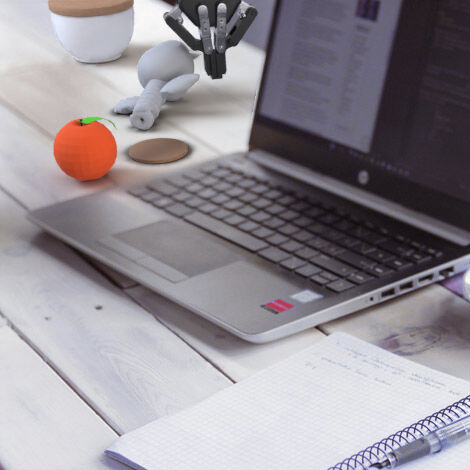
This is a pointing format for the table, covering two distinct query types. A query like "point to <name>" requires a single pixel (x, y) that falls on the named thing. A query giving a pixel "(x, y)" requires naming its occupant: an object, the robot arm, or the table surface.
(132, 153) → the cork coaster
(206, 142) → the table surface
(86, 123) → the clementine
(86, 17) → the lidded bowl
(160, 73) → the toy creature
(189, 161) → the table surface
